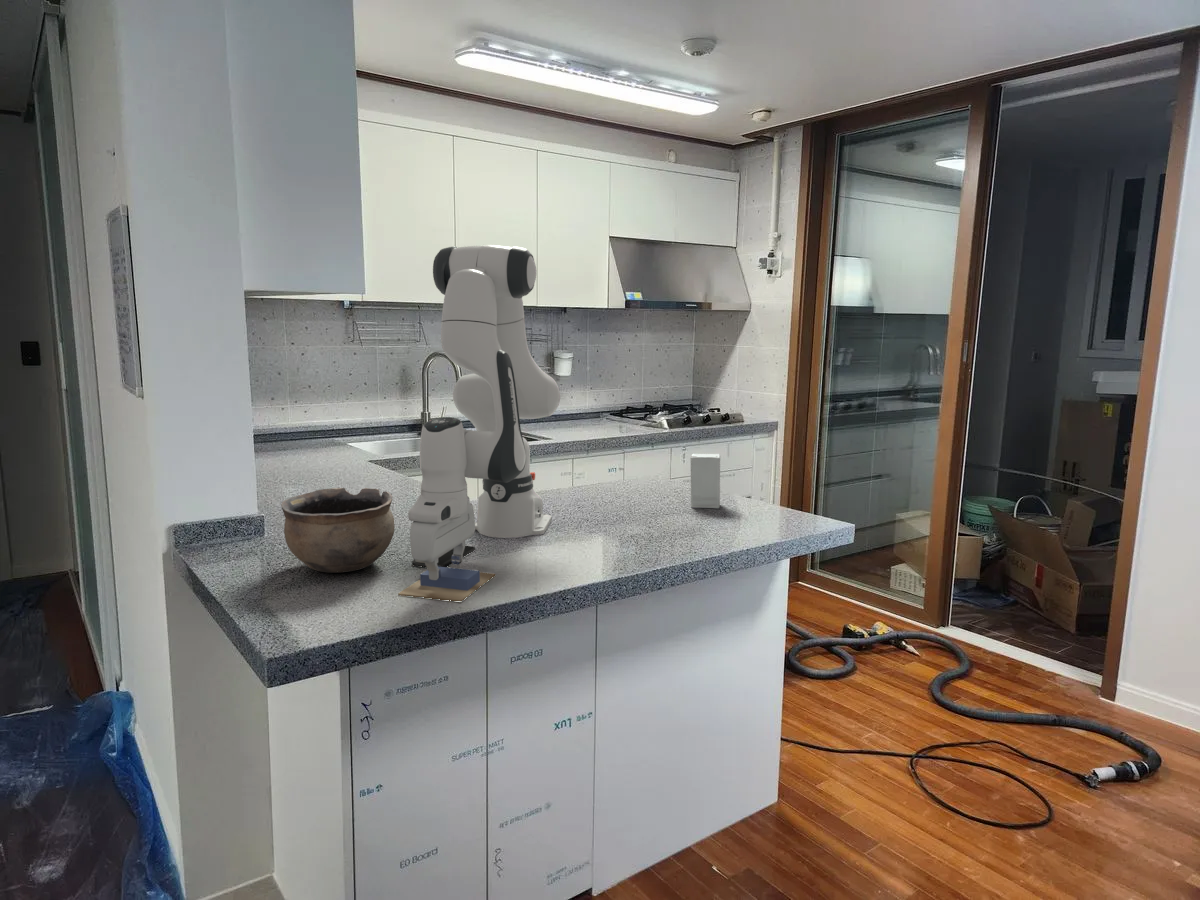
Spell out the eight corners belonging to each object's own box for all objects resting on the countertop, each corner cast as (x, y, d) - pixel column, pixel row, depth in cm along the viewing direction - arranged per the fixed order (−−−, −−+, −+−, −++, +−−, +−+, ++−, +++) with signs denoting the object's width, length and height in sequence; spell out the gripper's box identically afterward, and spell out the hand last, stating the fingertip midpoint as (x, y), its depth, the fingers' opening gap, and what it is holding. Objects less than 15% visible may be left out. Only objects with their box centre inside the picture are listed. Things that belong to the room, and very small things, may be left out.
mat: (438, 569, 160) (437, 567, 160) (495, 575, 156) (495, 573, 156) (398, 595, 145) (398, 593, 144) (461, 602, 141) (461, 600, 141)
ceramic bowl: (414, 557, 168) (412, 490, 166) (362, 590, 147) (359, 514, 145) (324, 549, 173) (321, 484, 171) (261, 580, 152) (256, 506, 150)
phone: (409, 561, 162) (446, 543, 176) (410, 567, 162) (447, 547, 176) (442, 566, 160) (477, 546, 174) (442, 571, 160) (477, 551, 174)
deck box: (479, 581, 152) (434, 576, 154) (479, 570, 151) (433, 565, 154) (467, 590, 146) (420, 585, 149) (467, 579, 146) (420, 574, 149)
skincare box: (719, 504, 219) (721, 453, 217) (719, 509, 213) (721, 457, 211) (690, 503, 221) (692, 452, 218) (689, 508, 215) (690, 455, 212)
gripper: (453, 489, 159) (455, 553, 161) (403, 514, 139) (405, 586, 142) (482, 491, 157) (483, 556, 160) (434, 516, 138) (436, 590, 140)
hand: (446, 570), depth 150 cm, fingers open, 8 cm apart
